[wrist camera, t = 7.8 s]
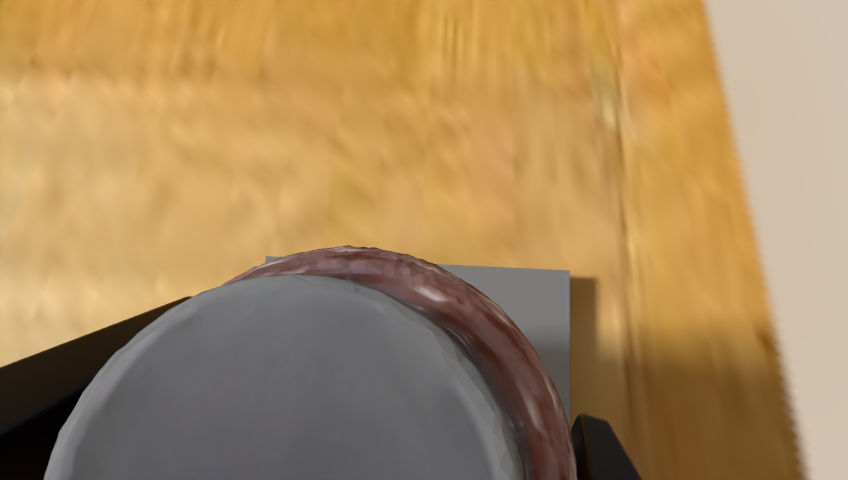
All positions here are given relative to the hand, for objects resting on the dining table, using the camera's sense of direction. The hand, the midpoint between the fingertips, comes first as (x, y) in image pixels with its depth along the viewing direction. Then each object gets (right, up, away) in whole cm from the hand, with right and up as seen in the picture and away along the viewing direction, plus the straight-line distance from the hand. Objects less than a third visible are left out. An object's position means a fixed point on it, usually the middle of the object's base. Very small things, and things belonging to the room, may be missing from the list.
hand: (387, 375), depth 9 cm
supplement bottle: (0, -3, +6) cm, 7 cm away
